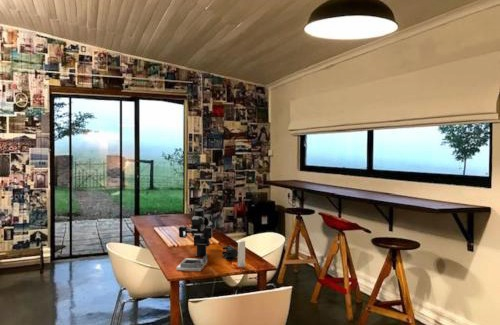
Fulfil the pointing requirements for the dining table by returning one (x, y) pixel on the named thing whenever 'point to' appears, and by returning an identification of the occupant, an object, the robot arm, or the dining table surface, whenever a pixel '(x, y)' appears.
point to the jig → (192, 264)
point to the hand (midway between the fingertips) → (192, 237)
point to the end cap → (230, 252)
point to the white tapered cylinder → (241, 253)
